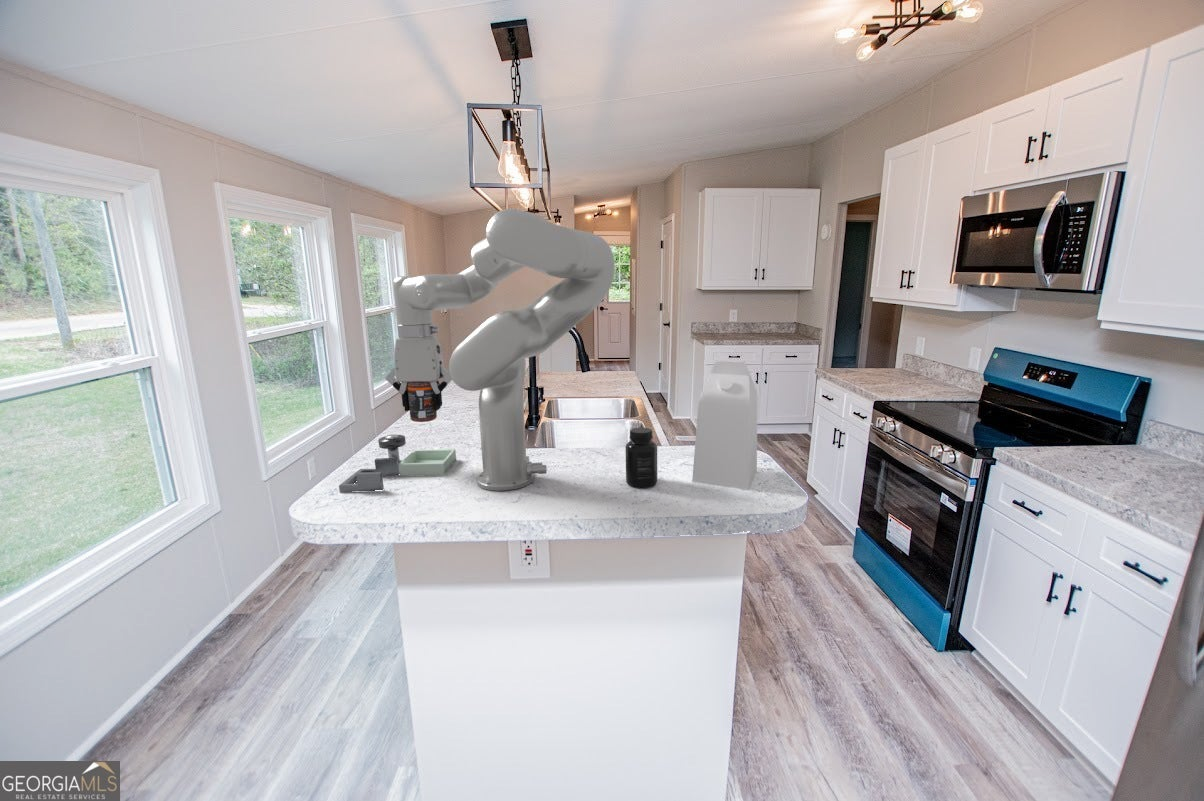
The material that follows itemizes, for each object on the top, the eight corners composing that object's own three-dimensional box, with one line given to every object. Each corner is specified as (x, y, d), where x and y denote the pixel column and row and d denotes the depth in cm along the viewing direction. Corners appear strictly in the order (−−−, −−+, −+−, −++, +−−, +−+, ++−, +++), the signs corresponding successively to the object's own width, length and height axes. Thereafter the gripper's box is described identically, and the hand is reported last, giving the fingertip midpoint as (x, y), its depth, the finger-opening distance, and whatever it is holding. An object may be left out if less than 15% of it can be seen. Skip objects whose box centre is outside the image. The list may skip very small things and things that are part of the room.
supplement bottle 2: (661, 479, 111) (662, 427, 109) (651, 491, 105) (651, 436, 103) (632, 475, 114) (632, 424, 111) (620, 486, 108) (620, 432, 105)
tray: (456, 460, 126) (455, 449, 125) (444, 475, 116) (443, 463, 115) (415, 460, 126) (414, 450, 125) (399, 475, 116) (398, 464, 115)
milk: (756, 471, 115) (763, 358, 109) (748, 490, 105) (755, 366, 99) (704, 464, 120) (708, 356, 114) (692, 481, 110) (695, 363, 104)
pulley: (411, 461, 126) (408, 432, 124) (402, 469, 120) (399, 439, 118) (387, 461, 126) (384, 432, 124) (377, 470, 120) (373, 440, 118)
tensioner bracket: (399, 474, 117) (398, 457, 116) (382, 491, 107) (379, 473, 106) (361, 474, 117) (359, 458, 116) (339, 492, 107) (337, 474, 106)
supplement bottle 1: (428, 423, 115) (424, 374, 112) (405, 422, 116) (400, 373, 114) (442, 416, 121) (438, 370, 118) (419, 415, 122) (415, 369, 119)
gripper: (458, 330, 118) (464, 405, 122) (384, 331, 117) (392, 406, 121) (449, 333, 110) (455, 413, 114) (370, 334, 110) (379, 414, 114)
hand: (423, 408), depth 118 cm, fingers closed on supplement bottle 1, 6 cm apart
